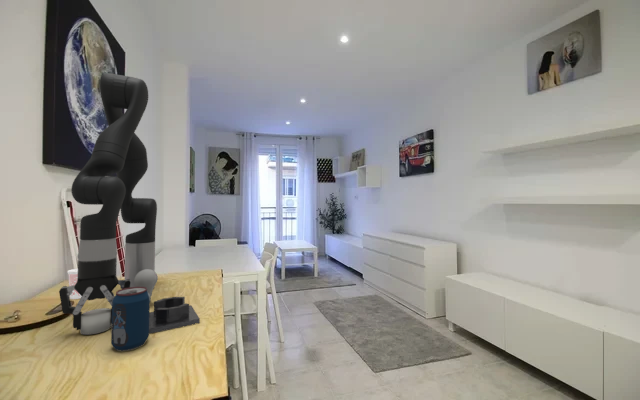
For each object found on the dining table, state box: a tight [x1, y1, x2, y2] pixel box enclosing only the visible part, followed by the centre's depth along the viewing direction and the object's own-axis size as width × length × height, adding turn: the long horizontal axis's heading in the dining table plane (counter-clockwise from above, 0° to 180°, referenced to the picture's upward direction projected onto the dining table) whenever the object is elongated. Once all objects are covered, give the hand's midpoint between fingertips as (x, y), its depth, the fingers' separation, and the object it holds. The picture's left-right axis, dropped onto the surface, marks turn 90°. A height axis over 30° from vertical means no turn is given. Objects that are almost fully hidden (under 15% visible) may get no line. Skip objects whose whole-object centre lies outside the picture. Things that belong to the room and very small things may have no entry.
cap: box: [79, 307, 112, 336], centre depth 70 cm, size 6×6×4 cm
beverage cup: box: [67, 268, 82, 300], centre depth 95 cm, size 6×6×14 cm
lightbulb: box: [134, 269, 158, 303], centre depth 87 cm, size 6×6×11 cm
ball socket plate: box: [149, 296, 201, 335], centre depth 76 cm, size 12×12×5 cm
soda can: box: [110, 287, 151, 352], centre depth 63 cm, size 7×7×12 cm
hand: (96, 325), depth 70 cm, fingers closed on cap, 6 cm apart
